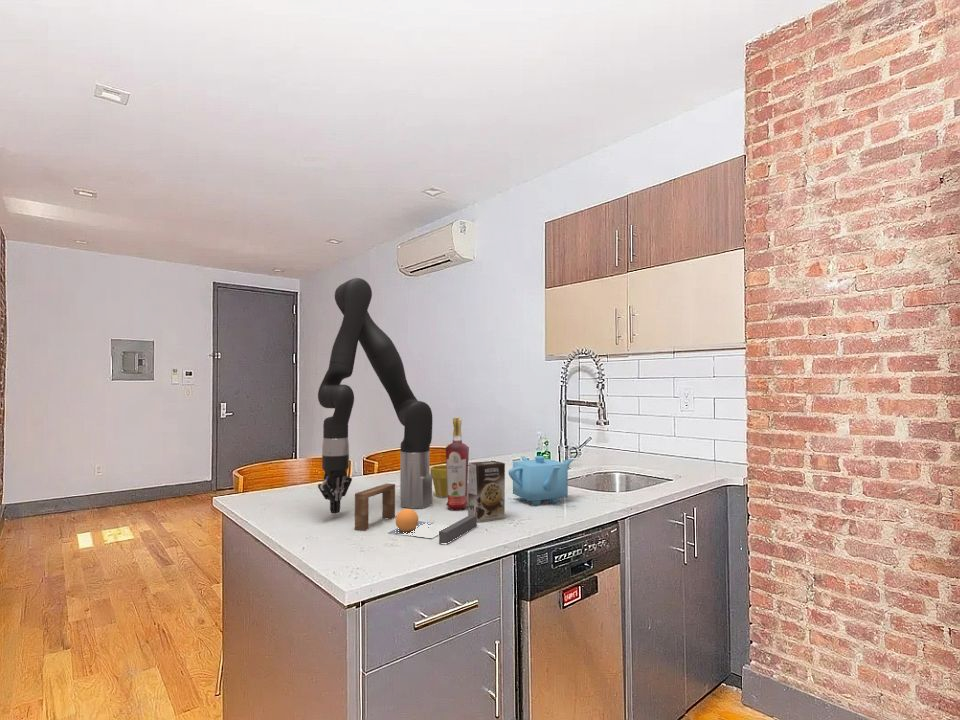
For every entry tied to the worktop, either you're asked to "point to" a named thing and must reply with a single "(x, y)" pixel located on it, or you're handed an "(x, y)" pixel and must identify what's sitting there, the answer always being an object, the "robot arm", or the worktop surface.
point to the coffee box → (486, 490)
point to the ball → (407, 520)
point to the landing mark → (410, 531)
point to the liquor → (457, 469)
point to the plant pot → (439, 480)
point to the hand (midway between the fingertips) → (335, 512)
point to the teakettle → (540, 479)
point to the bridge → (363, 504)
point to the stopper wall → (457, 529)
